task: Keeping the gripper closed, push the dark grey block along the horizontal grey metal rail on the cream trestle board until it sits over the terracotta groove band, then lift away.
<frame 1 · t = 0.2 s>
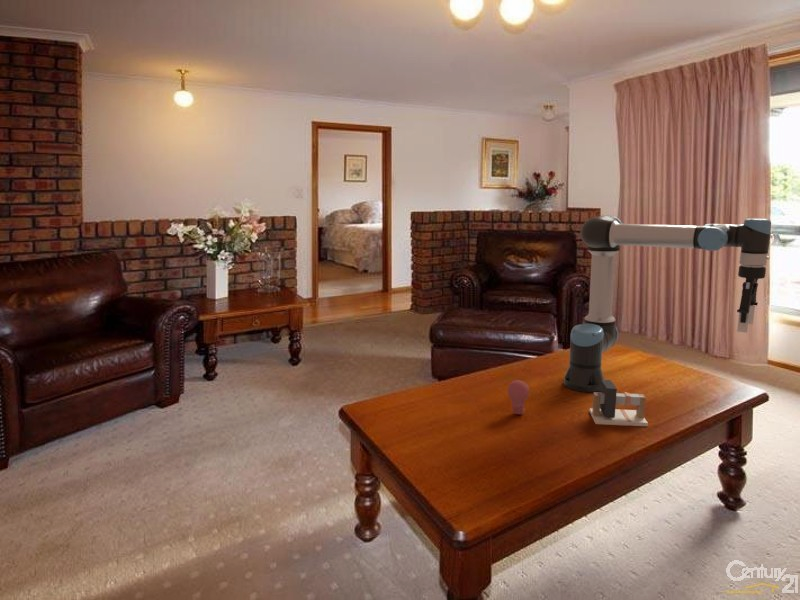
hand: (745, 327, 179), 28 cm above the table, fingers open, 13 cm apart
light bulb: (517, 414, 180), on the table
dark grey block: (607, 398, 174), point 7 cm above the table, slide at 0.0 cm
pipe rig: (617, 418, 175), on the table
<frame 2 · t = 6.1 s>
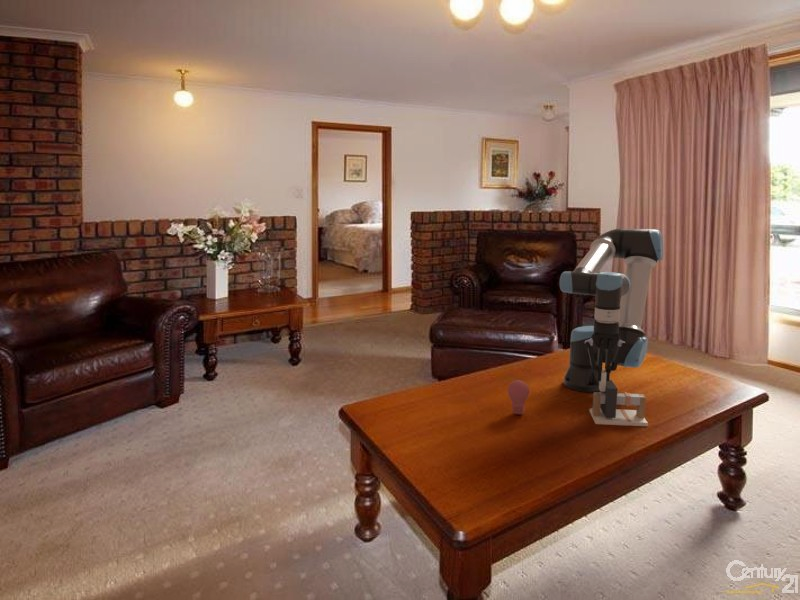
hand: (602, 389, 174), 10 cm above the table, fingers closed
dark grey block: (608, 398, 174), point 7 cm above the table, slide at 0.3 cm, touching gripper
everything else where it was.
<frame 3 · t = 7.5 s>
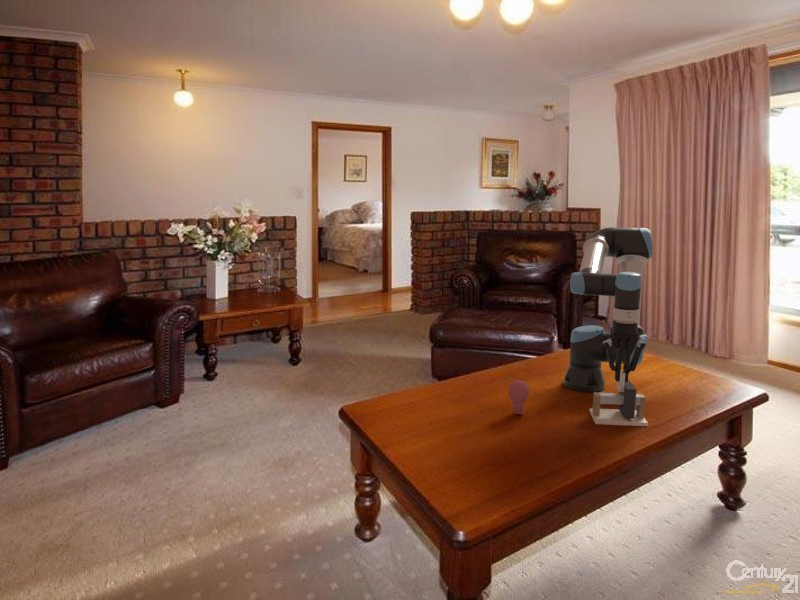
hand: (620, 390, 173), 10 cm above the table, fingers closed
dark grey block: (627, 399, 173), point 7 cm above the table, slide at 6.0 cm, touching gripper
everything else where it was.
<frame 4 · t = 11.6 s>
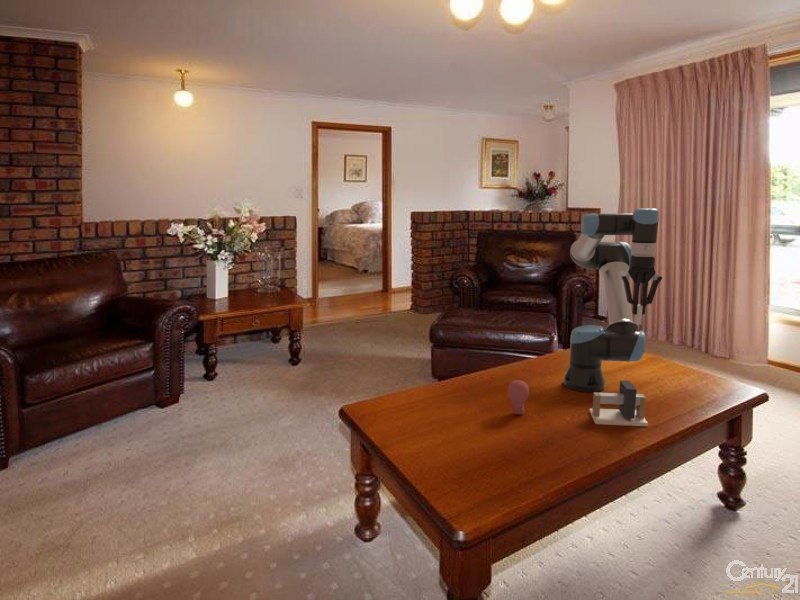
hand: (637, 323, 181), 29 cm above the table, fingers closed
dark grey block: (627, 399, 173), point 7 cm above the table, slide at 6.0 cm
everything else where it was.
at the end: dark grey block slide at 6.0 cm; dark grey block touching nothing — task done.
